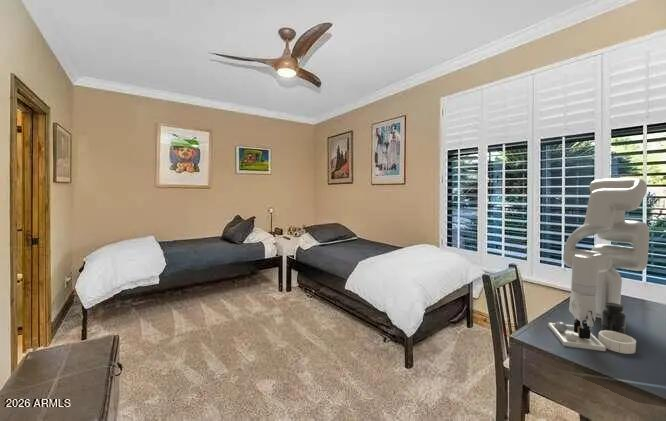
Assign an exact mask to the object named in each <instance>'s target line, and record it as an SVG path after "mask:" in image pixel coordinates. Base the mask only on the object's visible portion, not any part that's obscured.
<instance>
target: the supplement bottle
mask: <svg viewBox="0 0 666 421" xmlns="http://www.w3.org/2000/svg"><path fill="white" fill-rule="evenodd" d="M600 322H601V323H600V324H601V325H600V331H604V330H607V331H615V332H619V333H623V334H625V335H626V324H627V316H626V313H624V306H623V305H622V304H621V303H620V304H616V303H610V302H608V303H606V309H604V310H603V311H602V319H600Z"/></svg>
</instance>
